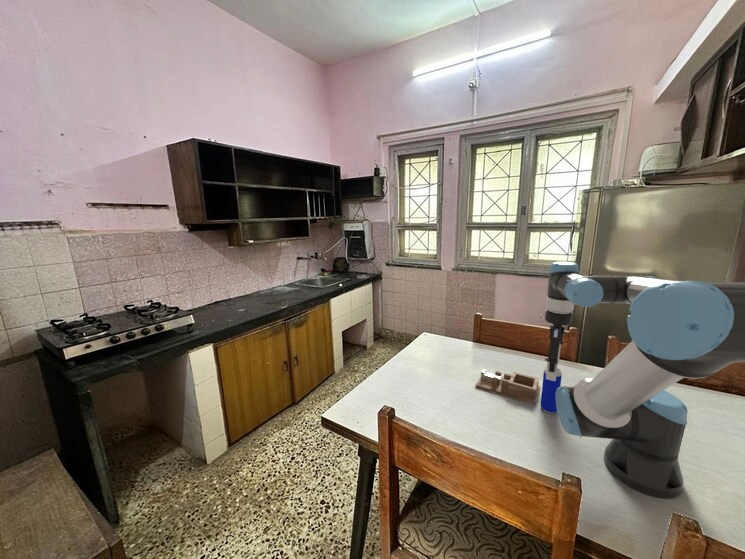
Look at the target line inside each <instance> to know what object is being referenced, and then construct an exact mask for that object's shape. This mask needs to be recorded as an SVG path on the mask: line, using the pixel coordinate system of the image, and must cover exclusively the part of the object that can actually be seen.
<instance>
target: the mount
mask: <svg viewBox="0 0 745 559" xmlns="http://www.w3.org/2000/svg"><path fill="white" fill-rule="evenodd" d="M486 372H487V371H486ZM487 373H490V374H494V375H498V376H501V382H500V384H498V377H495V376H493V377H492V383H491V382H488V381H484V380H481V376H480V377H479V379H478V380H477V382H476V384H475V388H477V389H479V390H480V389H481V390H483V391H488V392H490V393H493V394H496V395H501V396H504V397H507V398H510V399H514V400H517V401H521V402H524V403H526V404H530V405H534V406H536V405H537V402H538V397H539V393H540V390H541V386H540V385H539V384H540V378H539V377H537V376H532V375H528V374H523V373H519V372H516V371H513V372H512V373H511V374H510V373H506V372H504V373H503V375H502V371H499V370H495V372H494V373H492V372H487Z"/></svg>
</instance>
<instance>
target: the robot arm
mask: <svg viewBox="0 0 745 559" xmlns="http://www.w3.org/2000/svg"><path fill="white" fill-rule="evenodd" d="M579 273H580V267H579V264H578V263H576V262H572V261H555V262H552V263H551V264H550V268H549V272H548V282H547V283H548V284H547V295H546V298H545V299H546V301H545V313H544V320H545V321H546V322H547V323H548V324H550V327H549V347H548V355H547V358H544V361H546V367H547V371H546V379H548V380H552V381H556V373H557V368H558V364H559V363H560V357H561V356H560V354H561V347H562V345H564V340H563V336H564V334H565V330H566V328H565V326H569V325H571V324H572V323H573V320H574V319H573V318H574V312H573V311H574V309H575V308H574V307H575V306H576V305H577V306H579V307H582V308H583V307H585V308H589V307H593V306H594V305H598V304H627V305H630V307H629V309H628V310H629V312H630V315H627V330H628V333H629V335H630V338H631V342H629V343H628V344H627V345H626V346H625V347H624V348H623V349H622V350H621V351H620V352H619V353H618V354H617V355H616V356H615V357H614V358H612V360H611V361H610V362H609V363H608V364H606V366H604V368H602V369H601V371H599V372H598V373H597V375H595V376H594V377H588V378H584V379H582V380H579V382H577V383H576V384H575V385H574V386H567V385H564V386H560V387H558V388H557V390H556V407H557V412H556V413H557V416H558V419H559V421H560V422H559V423H560V425H561V426H562V428H563V430H564V431H565V432H566V433H567V434H569V435H571V436H576V437H580V438H583V437H586V438H598V439H599V438H600V439H610V442H609V443H608V444H607V445H606V446H605V449H604V454H603V461H604V464H605V466H606V467H607V469H608V470H609V471H610V472H611V473H612V474H613V476H615V477H616V478H617V479H618V480H619V481H621V482H622V483H624V484H626V485H627V486H629V487H631V488H632V489H634V490H636V491H638V492H640V493H643V494H645V495H648V496H651V497H654V498H659V499H674V498H677V497H679V496H680V495H682V492H683V488H684V478H683V474H682V470H681V466H680V462H679V455H680V451H681V446H682V443H683V442H682V441H683V438H684V433H685V428H686V425H688V421H687V419H688V408H687V406H686V405H685V403H684V402H683V401H682V400H681V399H679V398H678V397H677V396H676V395H674V394H672V393H670V392H668V391H666V389H668V388H670V387H671V386H674V384H676V383H678V382H679V381H681V380H682V379H692V380H693V379H695V380H697V379H704V378H708V377H710V376H713V375H714V374H716V373H717V372H719V371H721V370H723V369H724V368H726V367H728V366H730V365H731V364H732V365H733V364H735V363H736V364H737V363H745V281H743V282H737V281H736V282H729V281H728V282H722V281H720V282H719V281H718V282H716V281H715V282H713V281H712V282H710V281H709V282H706V281H705V282H704V281H699V280H698V281H697V280H673V279H672V280H671V279H662V278H657V277H655V276H651V275H649V276H647V275H583V274H582V275H581V274H579Z"/></svg>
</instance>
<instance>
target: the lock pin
mask: <svg viewBox="0 0 745 559" xmlns="http://www.w3.org/2000/svg"><path fill="white" fill-rule="evenodd" d="M490 373H491V372H488V373H487V369H484V368H482V370H481V372H480V377H481V380H484V381H488V382H491V383H492V377H493V376H495V377H498V384H500V382H501V376H502V375H501V376H498V375H494V374H495V373H492V374H490Z"/></svg>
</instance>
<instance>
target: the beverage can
mask: <svg viewBox="0 0 745 559" xmlns="http://www.w3.org/2000/svg"><path fill="white" fill-rule="evenodd" d="M546 371H547V366H545V367H544V369H543V375H542V378H543V379H542V384H541V386H542V388H541V397H540V408H541V409H542V410H543V411H544V412H546V413H548V414H556V413H558V412H557V407H556V390H557V388H558V387H561V384H562V376H563V374H562V370H561V369H560V368H558V367H557V373H556V381H552V380H548V379H546Z"/></svg>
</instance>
